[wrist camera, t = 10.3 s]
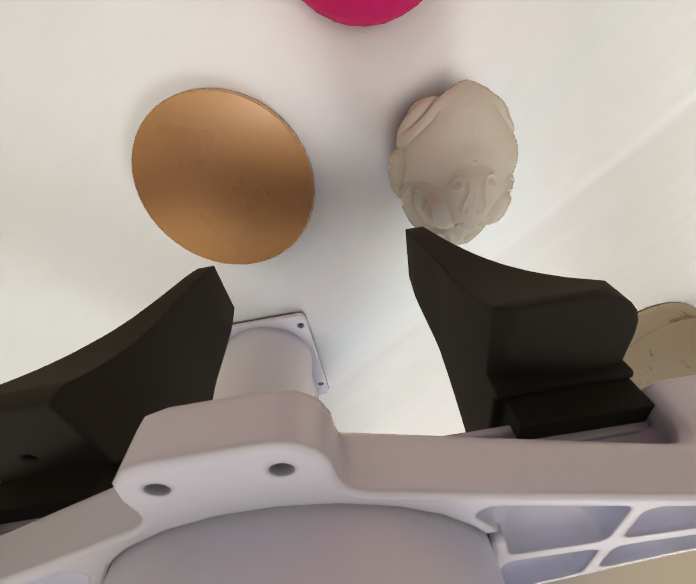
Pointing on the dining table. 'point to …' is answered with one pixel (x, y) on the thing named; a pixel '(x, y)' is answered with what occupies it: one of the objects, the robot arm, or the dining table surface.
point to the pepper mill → (362, 10)
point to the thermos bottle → (663, 344)
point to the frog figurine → (455, 161)
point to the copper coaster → (223, 176)
